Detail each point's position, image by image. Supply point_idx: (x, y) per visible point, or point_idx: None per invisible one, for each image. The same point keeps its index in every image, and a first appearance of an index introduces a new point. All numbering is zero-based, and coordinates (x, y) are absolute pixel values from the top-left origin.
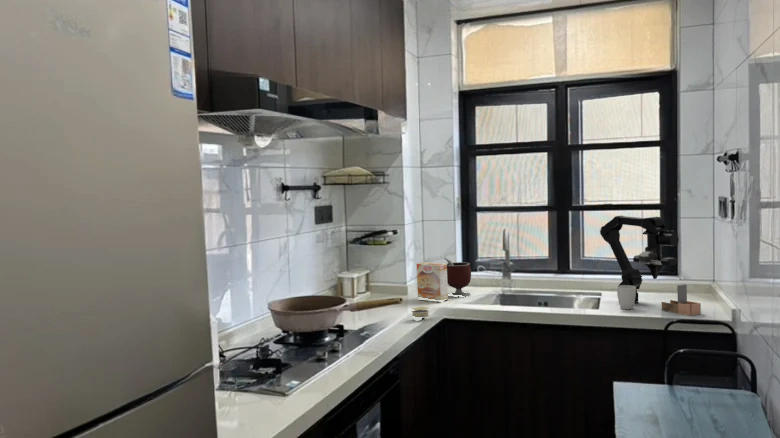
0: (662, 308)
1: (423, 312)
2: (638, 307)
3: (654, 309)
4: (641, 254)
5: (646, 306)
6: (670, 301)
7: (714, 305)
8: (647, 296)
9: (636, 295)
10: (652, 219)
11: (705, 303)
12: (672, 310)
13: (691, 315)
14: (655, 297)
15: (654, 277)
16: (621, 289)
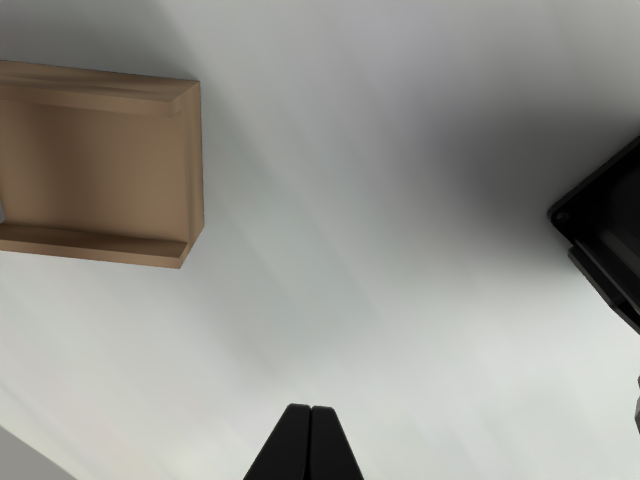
0: (182, 84)
1: None
2: (466, 41)
3: (277, 68)
4: None
5: (418, 149)
6: (179, 250)
7: (81, 459)
8: (580, 469)
9: (612, 270)
10: None
11: (156, 476)
12: (57, 71)
13: None
14: (513, 469)
15: (292, 428)
16: None
